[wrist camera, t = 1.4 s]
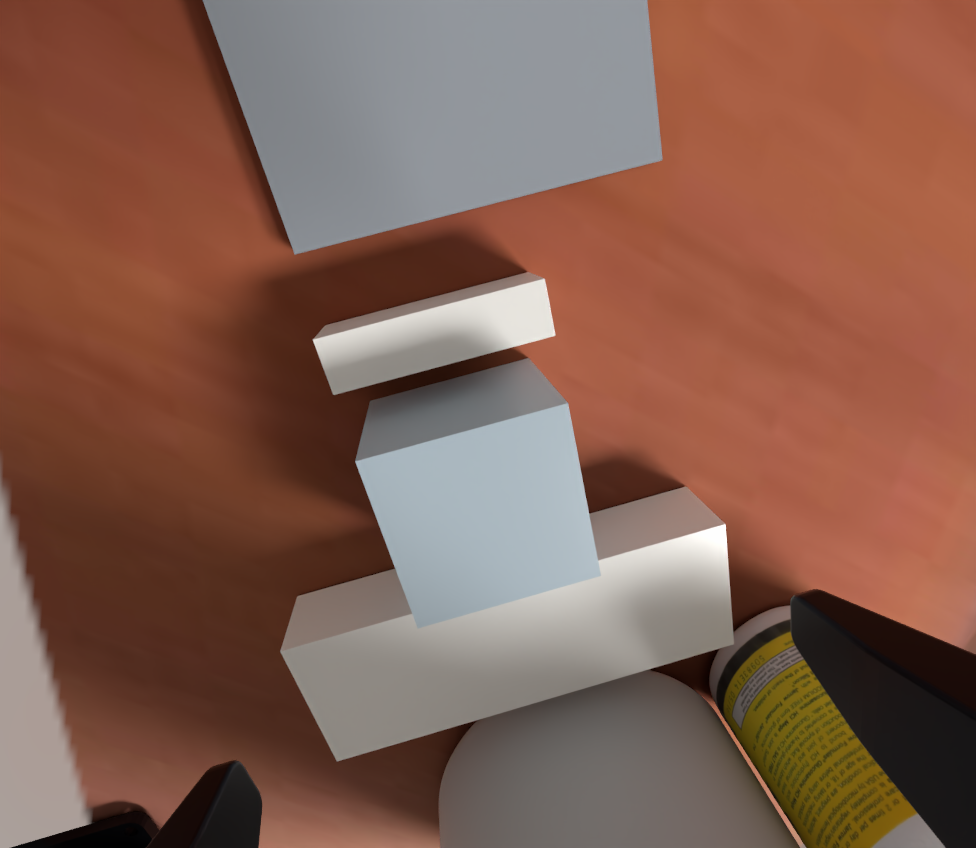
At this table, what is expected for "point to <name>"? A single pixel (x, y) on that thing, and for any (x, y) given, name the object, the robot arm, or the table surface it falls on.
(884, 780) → the pill bottle
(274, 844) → the table surface
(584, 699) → the cylinder vase
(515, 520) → the pale blue cube
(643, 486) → the table surface
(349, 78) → the mat
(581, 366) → the table surface
